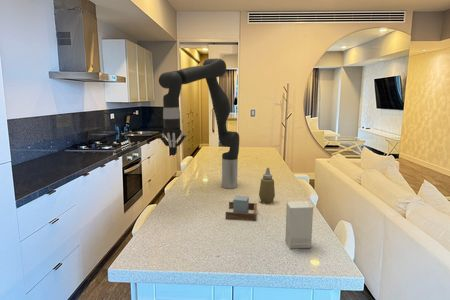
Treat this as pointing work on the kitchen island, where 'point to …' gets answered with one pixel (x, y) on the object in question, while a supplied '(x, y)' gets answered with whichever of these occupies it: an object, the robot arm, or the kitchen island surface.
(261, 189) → the squeeze bottle
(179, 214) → the kitchen island surface
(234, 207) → the slate block
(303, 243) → the skincare box
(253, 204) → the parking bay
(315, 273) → the kitchen island surface
